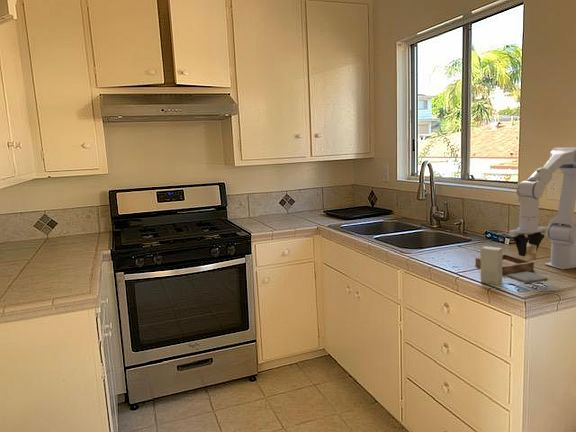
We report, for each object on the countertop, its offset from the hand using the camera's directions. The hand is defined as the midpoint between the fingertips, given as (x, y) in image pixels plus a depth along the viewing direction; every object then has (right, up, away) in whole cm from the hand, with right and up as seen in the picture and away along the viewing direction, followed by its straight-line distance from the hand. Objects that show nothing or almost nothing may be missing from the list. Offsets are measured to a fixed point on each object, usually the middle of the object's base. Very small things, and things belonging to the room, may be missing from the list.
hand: (527, 255), depth 156 cm
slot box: (-1, -6, +14) cm, 15 cm away
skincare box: (-13, -9, -2) cm, 16 cm away
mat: (0, -8, +1) cm, 8 cm away
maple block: (0, -1, 0) cm, 2 cm away
